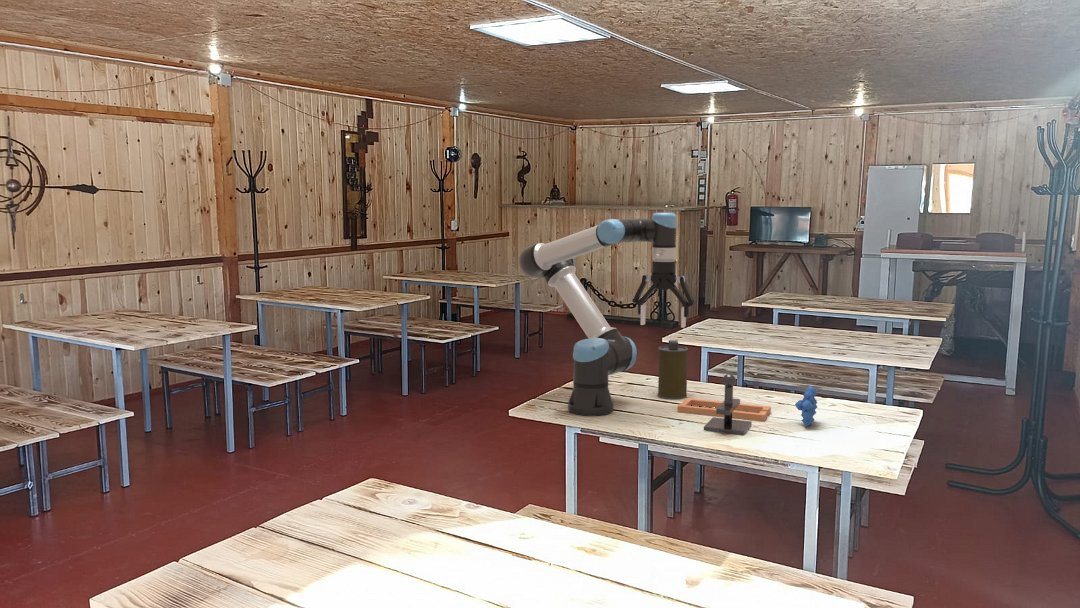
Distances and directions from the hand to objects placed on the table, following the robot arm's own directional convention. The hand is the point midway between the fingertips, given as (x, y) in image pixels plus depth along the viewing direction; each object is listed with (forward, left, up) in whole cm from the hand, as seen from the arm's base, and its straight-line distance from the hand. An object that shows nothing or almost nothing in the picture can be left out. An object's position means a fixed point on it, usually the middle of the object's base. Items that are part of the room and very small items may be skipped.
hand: (662, 325), depth 258 cm
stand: (+24, -10, -29) cm, 39 cm away
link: (+19, +8, -29) cm, 35 cm away
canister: (-3, +23, -29) cm, 37 cm away
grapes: (+45, +4, -29) cm, 54 cm away
